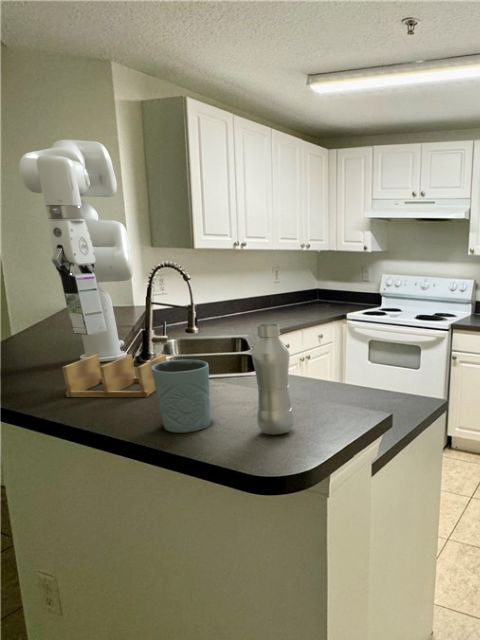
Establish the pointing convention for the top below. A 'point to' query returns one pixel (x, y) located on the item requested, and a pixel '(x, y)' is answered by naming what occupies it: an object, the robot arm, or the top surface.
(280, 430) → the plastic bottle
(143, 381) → the wooden shelf rack
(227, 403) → the top surface
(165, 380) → the blue embossed cup
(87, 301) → the syrup box
